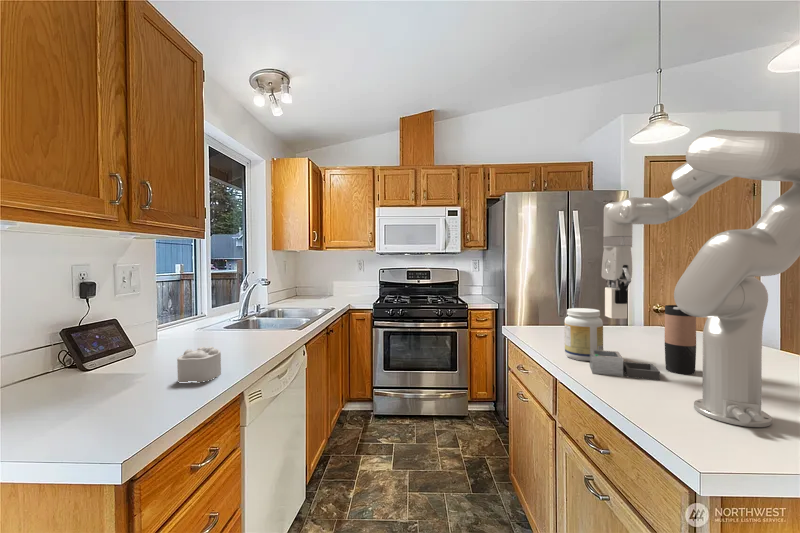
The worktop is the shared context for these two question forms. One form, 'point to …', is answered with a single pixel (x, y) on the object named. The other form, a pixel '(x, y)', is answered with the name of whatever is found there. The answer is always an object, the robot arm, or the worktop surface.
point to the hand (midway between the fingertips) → (616, 301)
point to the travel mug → (680, 341)
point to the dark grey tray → (641, 370)
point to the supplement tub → (583, 333)
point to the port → (606, 362)
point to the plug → (614, 304)
